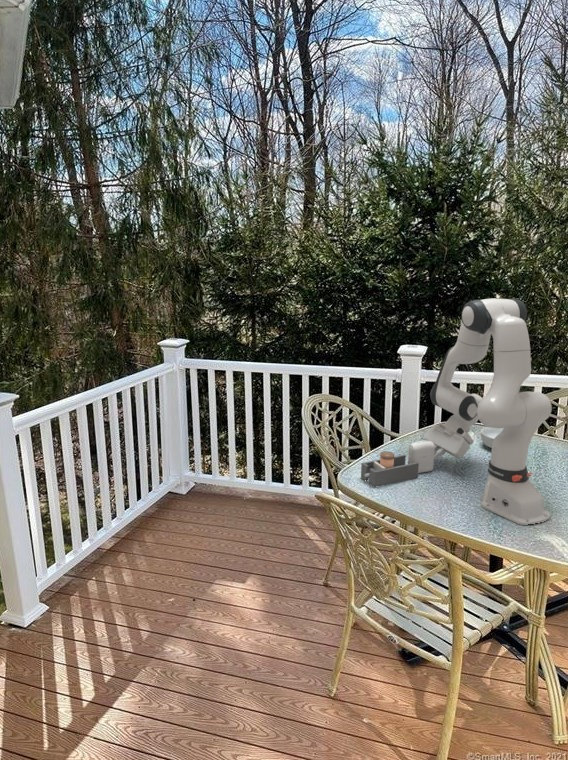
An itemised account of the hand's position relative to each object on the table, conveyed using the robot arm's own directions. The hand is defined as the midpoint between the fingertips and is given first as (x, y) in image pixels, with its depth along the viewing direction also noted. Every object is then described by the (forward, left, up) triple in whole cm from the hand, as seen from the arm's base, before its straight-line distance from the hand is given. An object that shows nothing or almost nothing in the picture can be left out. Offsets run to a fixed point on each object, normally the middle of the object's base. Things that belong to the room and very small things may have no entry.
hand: (432, 457), depth 209 cm
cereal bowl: (+5, -41, -5) cm, 41 cm away
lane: (0, +19, -5) cm, 20 cm away
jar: (0, +22, -5) cm, 22 cm away
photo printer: (0, +6, -5) cm, 8 cm away
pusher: (0, +28, -5) cm, 28 cm away
